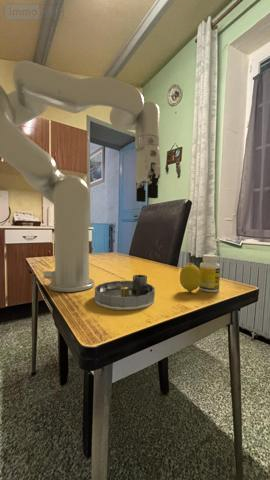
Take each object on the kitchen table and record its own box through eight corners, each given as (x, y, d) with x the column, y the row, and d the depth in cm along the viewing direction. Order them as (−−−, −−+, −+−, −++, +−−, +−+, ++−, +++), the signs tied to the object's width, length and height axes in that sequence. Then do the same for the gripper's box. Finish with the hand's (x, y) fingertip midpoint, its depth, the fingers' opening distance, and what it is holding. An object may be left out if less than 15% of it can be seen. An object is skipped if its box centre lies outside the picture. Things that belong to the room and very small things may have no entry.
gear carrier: (85, 308, 46) (85, 285, 46) (105, 289, 60) (105, 271, 60) (151, 313, 44) (151, 288, 44) (156, 292, 58) (156, 274, 58)
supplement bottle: (217, 293, 57) (219, 257, 57) (197, 290, 60) (198, 255, 59) (220, 288, 62) (221, 254, 61) (201, 286, 65) (202, 253, 64)
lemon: (203, 295, 56) (204, 264, 55) (181, 295, 56) (182, 264, 55) (197, 289, 61) (198, 261, 61) (177, 289, 61) (178, 261, 61)
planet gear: (134, 296, 51) (134, 278, 51) (129, 291, 55) (129, 275, 54) (150, 294, 52) (150, 277, 52) (144, 289, 56) (144, 273, 56)
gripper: (170, 137, 62) (169, 197, 63) (147, 155, 78) (146, 203, 79) (146, 133, 60) (146, 195, 61) (127, 153, 76) (127, 202, 77)
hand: (146, 199), depth 70 cm, fingers open, 9 cm apart
